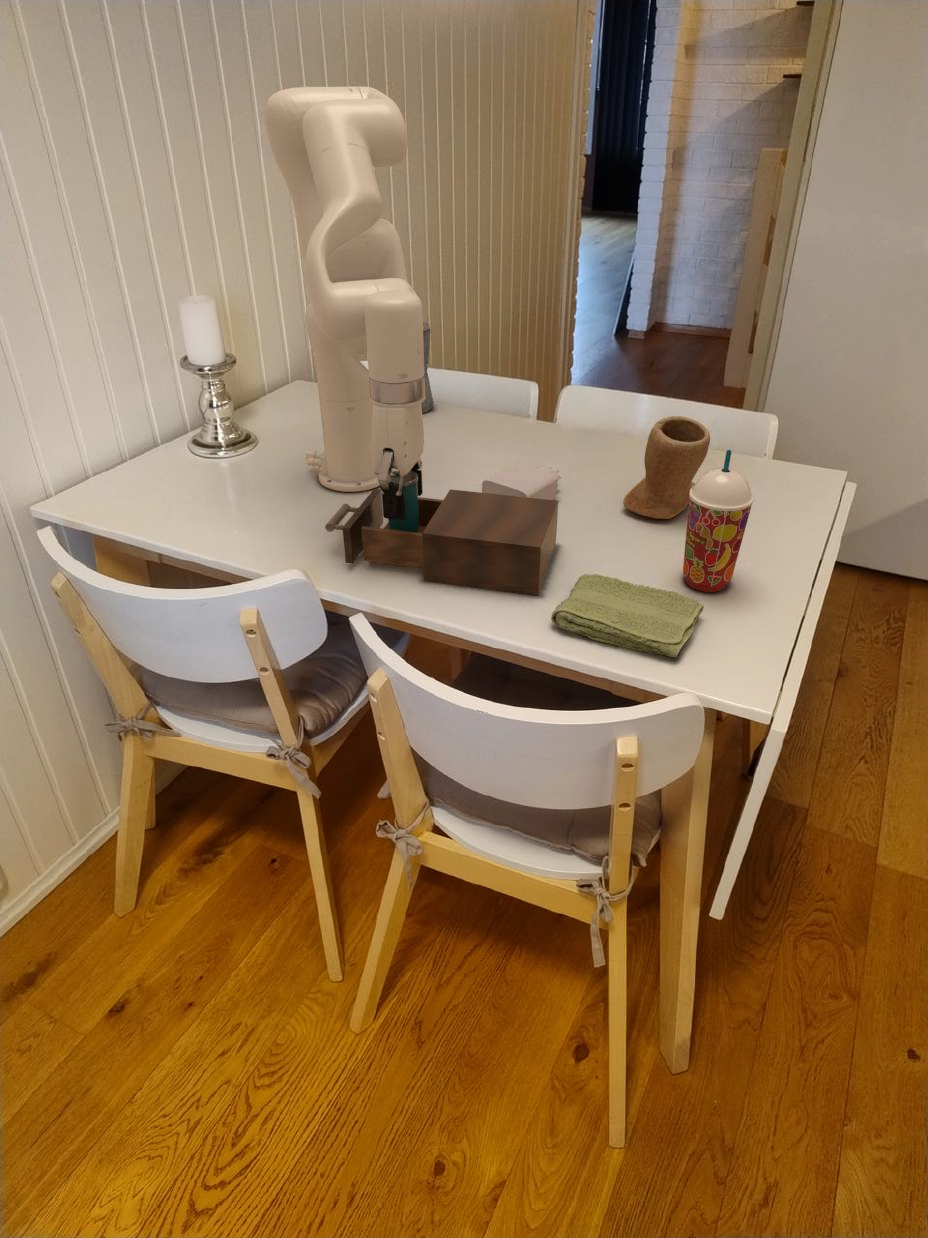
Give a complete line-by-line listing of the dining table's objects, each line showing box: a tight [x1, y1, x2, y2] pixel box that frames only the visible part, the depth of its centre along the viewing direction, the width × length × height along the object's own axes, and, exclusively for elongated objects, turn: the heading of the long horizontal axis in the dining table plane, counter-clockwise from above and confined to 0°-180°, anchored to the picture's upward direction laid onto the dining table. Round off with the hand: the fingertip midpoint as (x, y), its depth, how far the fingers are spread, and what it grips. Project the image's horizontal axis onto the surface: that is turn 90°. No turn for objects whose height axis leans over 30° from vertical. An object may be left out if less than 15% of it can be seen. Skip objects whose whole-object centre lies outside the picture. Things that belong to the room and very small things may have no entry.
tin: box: [389, 469, 419, 533], centre depth 124 cm, size 5×5×10 cm
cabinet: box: [422, 489, 559, 596], centre depth 123 cm, size 17×15×8 cm
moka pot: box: [421, 321, 435, 414], centre depth 176 cm, size 10×15×20 cm, turn 171°
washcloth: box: [550, 573, 705, 658], centre depth 111 cm, size 13×18×3 cm
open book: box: [481, 463, 562, 500], centre depth 143 cm, size 5×9×15 cm
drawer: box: [324, 488, 444, 569], centre depth 126 cm, size 20×14×6 cm
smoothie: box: [682, 449, 755, 593], centre depth 114 cm, size 8×8×20 cm
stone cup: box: [622, 415, 711, 520], centre depth 137 cm, size 15×12×15 cm
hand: (403, 505), depth 123 cm, fingers open, 7 cm apart
